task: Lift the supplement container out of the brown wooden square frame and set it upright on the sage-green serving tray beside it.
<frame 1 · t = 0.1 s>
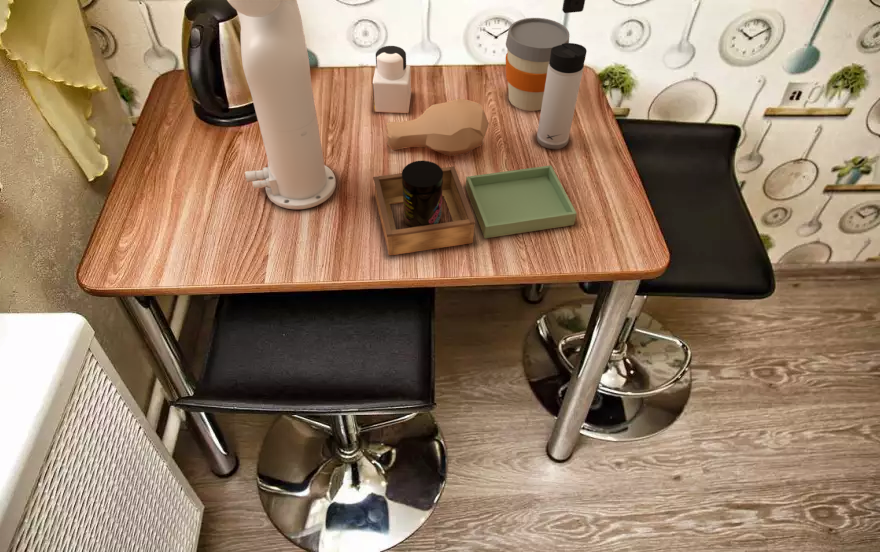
reusable coffee cup: (529, 99, 134), on the table
tray: (518, 206, 112), on the table
supplement container: (422, 220, 109), resting in brown wooden square frame
white block figurine: (393, 104, 132), on the table
squash: (437, 146, 123), on the table
travel mug: (552, 141, 125), on the table
brown wooden square frame: (422, 220, 109), on the table
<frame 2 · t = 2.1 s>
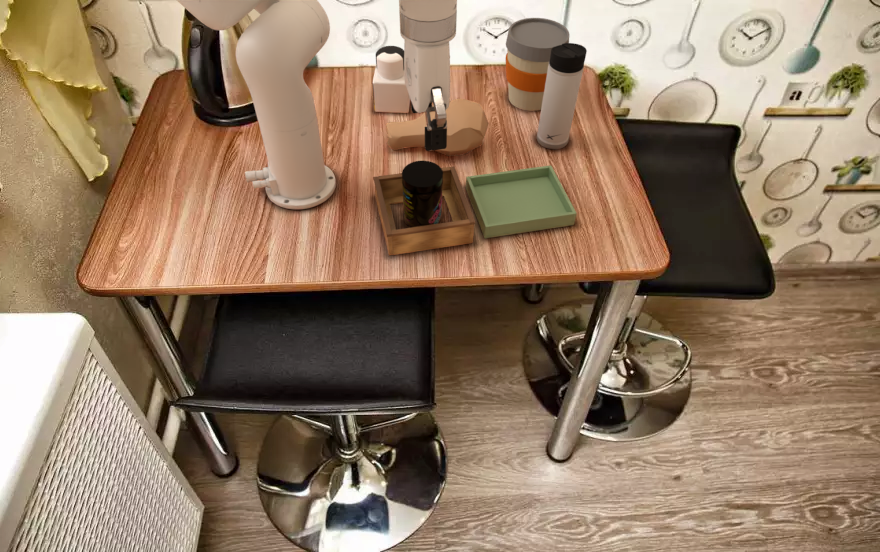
hand: (428, 129, 95), 19 cm above the table, tool pointing down, fingers open, 9 cm apart
nothing on the table moved.
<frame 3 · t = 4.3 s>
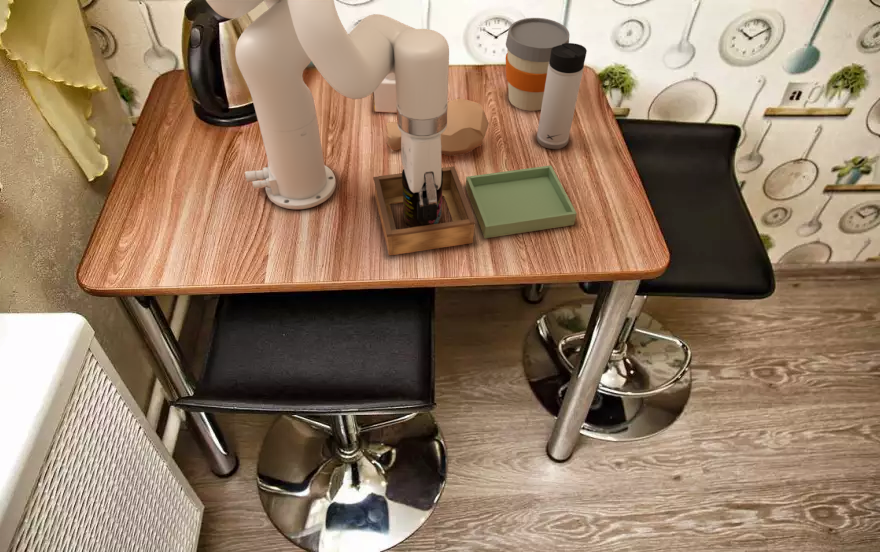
hand: (422, 204, 106), 4 cm above the table, tool pointing down, fingers closed on supplement container, 6 cm apart
supplement container: (422, 220, 109), resting in brown wooden square frame, touching gripper
everything else where it was.
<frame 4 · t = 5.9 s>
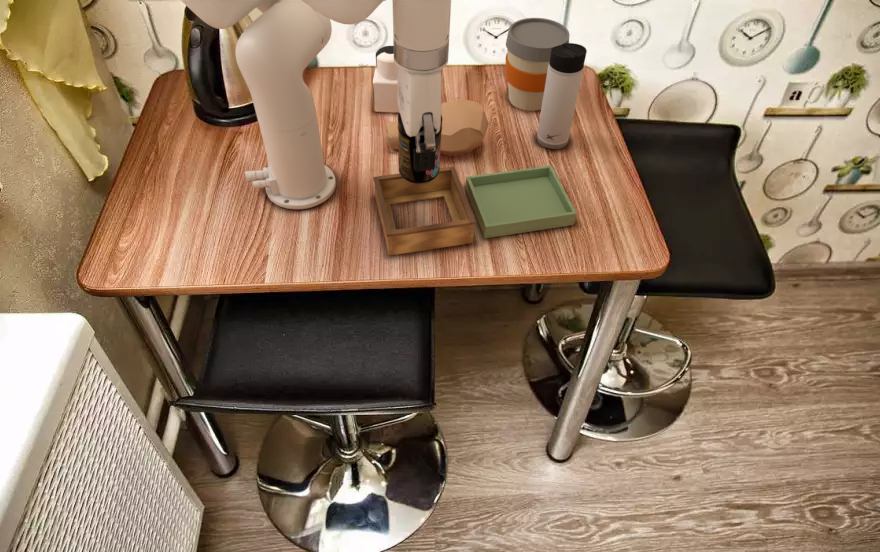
hand: (419, 153, 98), 14 cm above the table, tool pointing down, fingers closed on supplement container, 6 cm apart
supplement container: (419, 173, 101), point 10 cm above the table, touching gripper
everything else where it was.
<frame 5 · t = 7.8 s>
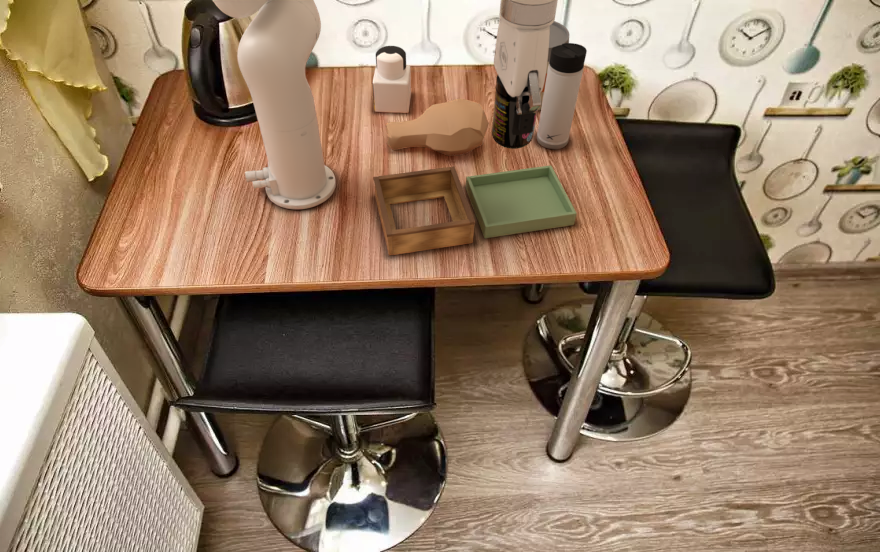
hand: (514, 117, 97), 19 cm above the table, tool pointing down, fingers closed on supplement container, 6 cm apart
supplement container: (511, 138, 100), point 15 cm above the table, touching gripper
everything else where it was.
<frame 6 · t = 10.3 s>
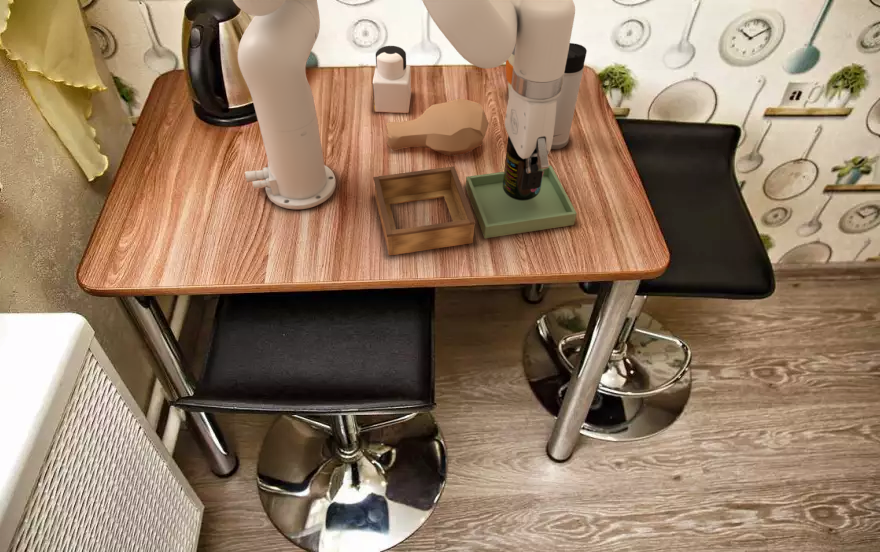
hand: (523, 172, 106), 8 cm above the table, tool pointing down, fingers closed on supplement container, 6 cm apart
supplement container: (520, 190, 109), point 4 cm above the table, touching gripper
everything else where it was.
when the fingers open (5 cm above the table, at t = 11.7 s): supplement container stays where it is, resting on tray.
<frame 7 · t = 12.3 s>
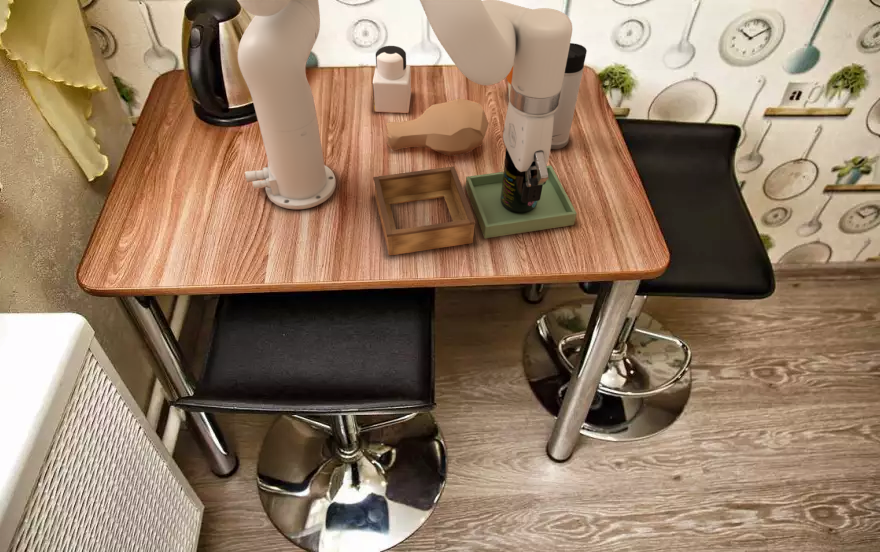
hand: (521, 181, 107), 6 cm above the table, tool pointing down, fingers open, 9 cm apart
supplement container: (518, 203, 111), point 1 cm above the table, touching tray
everything else where it was.
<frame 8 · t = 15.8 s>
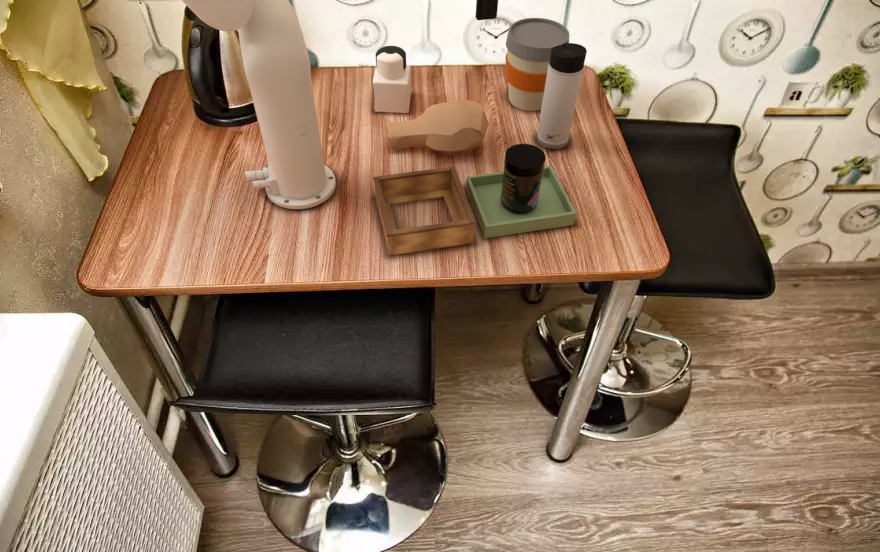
hand: (477, 3, 97), 30 cm above the table, tool pointing down, fingers open, 9 cm apart
nothing on the table moved.
at the end: supplement container inside the target area in the tray (0.1 cm from its centre), point 0.6 cm above the tray's base; supplement container tilted 0°; the gripper is holding nothing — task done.
